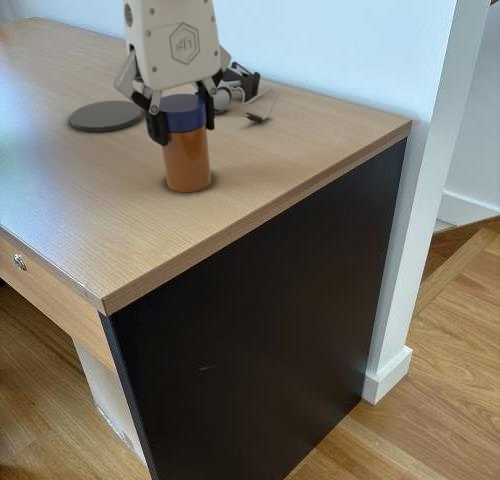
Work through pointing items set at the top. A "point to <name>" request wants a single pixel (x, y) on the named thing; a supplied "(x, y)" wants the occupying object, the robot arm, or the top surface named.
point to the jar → (187, 160)
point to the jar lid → (183, 112)
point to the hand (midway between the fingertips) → (183, 133)
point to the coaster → (105, 116)
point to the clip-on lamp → (239, 89)
